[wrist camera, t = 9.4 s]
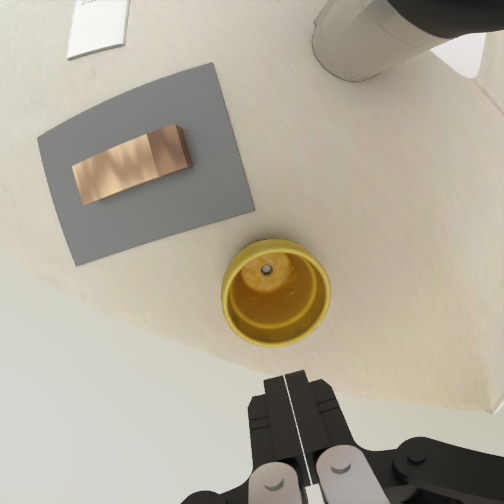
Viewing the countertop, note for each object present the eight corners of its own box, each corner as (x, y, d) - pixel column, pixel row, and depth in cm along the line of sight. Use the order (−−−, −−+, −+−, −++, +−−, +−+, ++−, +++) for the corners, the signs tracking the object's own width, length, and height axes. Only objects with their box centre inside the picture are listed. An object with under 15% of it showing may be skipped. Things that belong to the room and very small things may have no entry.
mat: (39, 138, 29) (37, 137, 29) (212, 64, 29) (212, 62, 28) (78, 265, 35) (76, 266, 34) (254, 209, 34) (254, 210, 34)
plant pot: (322, 271, 37) (350, 306, 28) (258, 319, 39) (266, 365, 29) (274, 206, 34) (290, 223, 25) (205, 260, 36) (196, 295, 26)
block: (71, 166, 26) (175, 123, 26) (89, 165, 31) (182, 128, 30) (83, 205, 28) (187, 167, 28) (99, 200, 32) (193, 166, 32)
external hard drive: (70, 61, 27) (82, -9, 24) (126, 47, 28) (135, -24, 24) (65, 58, 26) (77, -13, 22) (122, 43, 26) (132, -29, 22)
